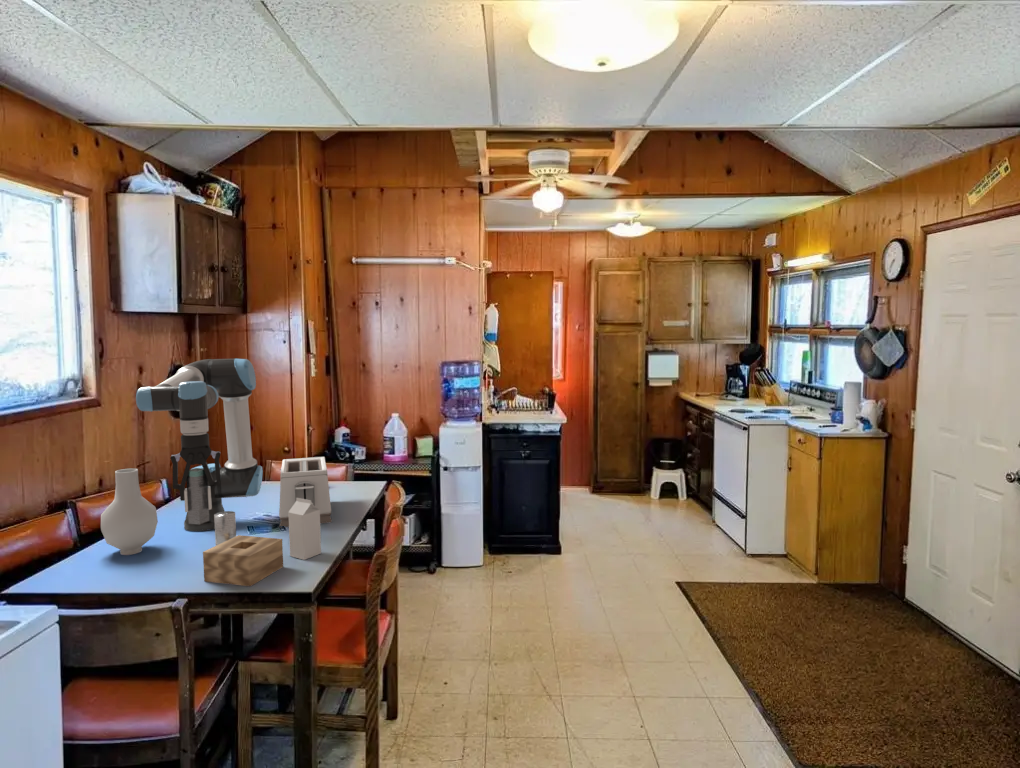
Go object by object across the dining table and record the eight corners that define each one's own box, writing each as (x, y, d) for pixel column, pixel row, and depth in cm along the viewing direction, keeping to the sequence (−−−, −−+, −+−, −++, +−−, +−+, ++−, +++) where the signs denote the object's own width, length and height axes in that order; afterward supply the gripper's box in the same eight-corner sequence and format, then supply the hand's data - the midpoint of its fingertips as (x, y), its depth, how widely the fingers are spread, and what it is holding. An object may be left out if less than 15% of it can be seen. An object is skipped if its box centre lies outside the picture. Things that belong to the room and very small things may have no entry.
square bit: (188, 523, 191) (185, 470, 190) (198, 519, 195) (195, 467, 194) (199, 524, 190) (197, 471, 189) (209, 520, 194) (207, 468, 193)
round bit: (211, 557, 211) (209, 515, 210) (225, 550, 217) (223, 510, 216) (228, 559, 209) (226, 517, 208) (241, 552, 216) (239, 511, 214)
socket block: (204, 581, 191) (202, 551, 190) (239, 562, 206) (238, 535, 205) (250, 586, 187) (249, 556, 186) (283, 566, 202) (282, 538, 201)
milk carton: (304, 560, 208) (302, 503, 206) (289, 556, 211) (287, 500, 210) (321, 553, 214) (319, 498, 212) (307, 550, 217) (305, 495, 216)
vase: (100, 550, 219) (95, 469, 217) (155, 540, 229) (150, 463, 226) (104, 564, 206) (99, 478, 203) (162, 553, 215) (157, 471, 213)
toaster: (279, 530, 240) (277, 476, 238) (281, 506, 273) (279, 458, 271) (332, 524, 246) (330, 472, 244) (328, 502, 279) (327, 455, 277)
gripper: (158, 437, 183) (162, 516, 185) (229, 432, 191) (232, 508, 193) (160, 433, 190) (164, 510, 192) (228, 429, 198) (232, 502, 200)
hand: (198, 509), depth 192 cm, fingers closed on square bit, 6 cm apart
